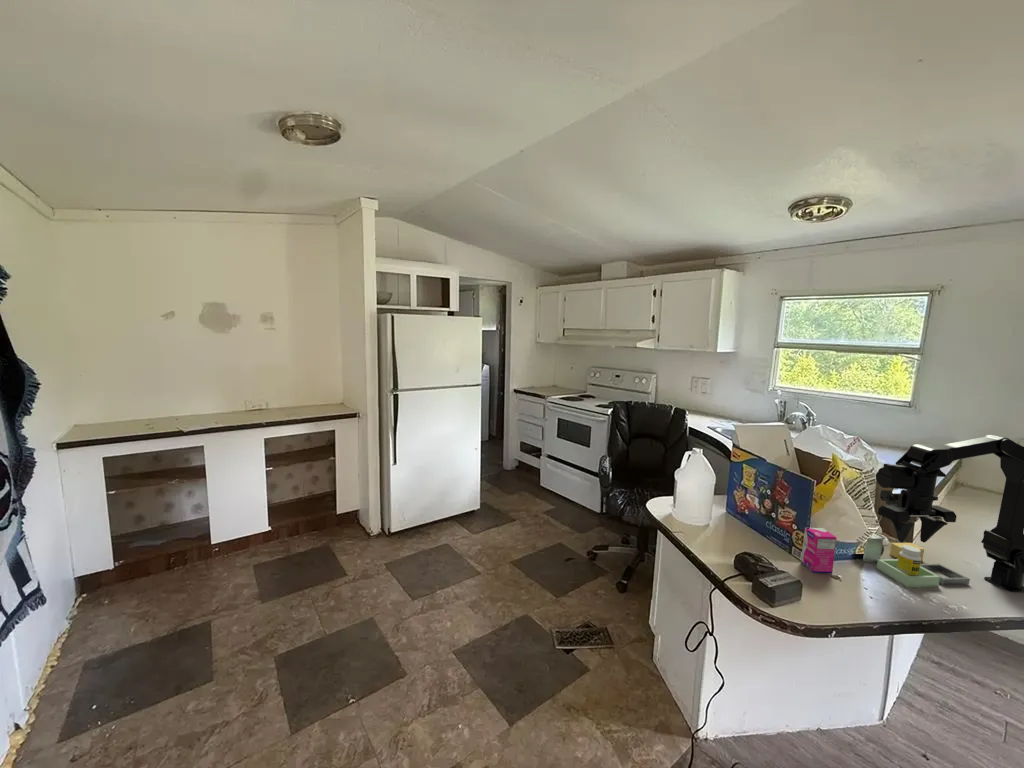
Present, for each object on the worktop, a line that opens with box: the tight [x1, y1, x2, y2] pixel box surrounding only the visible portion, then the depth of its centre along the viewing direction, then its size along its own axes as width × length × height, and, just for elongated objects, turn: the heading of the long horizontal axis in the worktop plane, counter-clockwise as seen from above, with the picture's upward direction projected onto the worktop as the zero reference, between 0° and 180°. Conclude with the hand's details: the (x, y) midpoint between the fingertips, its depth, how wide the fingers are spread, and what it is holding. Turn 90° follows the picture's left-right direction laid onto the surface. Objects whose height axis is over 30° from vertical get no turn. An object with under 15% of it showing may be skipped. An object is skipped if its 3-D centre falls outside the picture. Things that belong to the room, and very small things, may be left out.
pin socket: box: [920, 563, 971, 586], centre depth 125 cm, size 8×8×2 cm
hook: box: [876, 525, 890, 546], centre depth 148 cm, size 8×12×7 cm
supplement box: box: [800, 527, 837, 574], centre depth 127 cm, size 6×6×12 cm
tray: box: [876, 558, 940, 588], centre depth 124 cm, size 9×9×3 cm
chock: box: [889, 542, 925, 562], centre depth 136 cm, size 7×4×4 cm, turn 95°
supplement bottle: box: [897, 545, 922, 576], centre depth 124 cm, size 5×5×8 cm
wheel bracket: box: [862, 534, 885, 563], centre depth 134 cm, size 7×5×9 cm, turn 95°
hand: (911, 541), depth 123 cm, fingers open, 7 cm apart
